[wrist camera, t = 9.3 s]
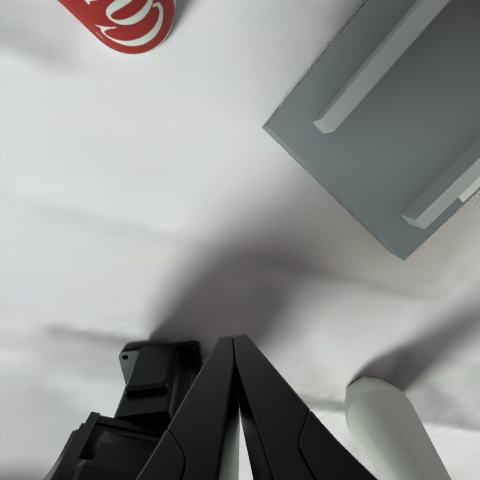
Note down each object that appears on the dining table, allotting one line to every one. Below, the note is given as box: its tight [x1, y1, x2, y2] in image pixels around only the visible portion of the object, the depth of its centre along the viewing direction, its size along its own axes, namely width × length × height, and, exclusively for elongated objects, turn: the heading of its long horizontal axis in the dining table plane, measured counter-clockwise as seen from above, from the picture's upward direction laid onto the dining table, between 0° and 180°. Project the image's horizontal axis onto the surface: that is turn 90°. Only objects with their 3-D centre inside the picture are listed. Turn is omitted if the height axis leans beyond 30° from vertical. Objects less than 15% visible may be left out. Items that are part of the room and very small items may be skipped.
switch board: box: [262, 0, 480, 260], centre depth 16 cm, size 22×14×3 cm, turn 139°
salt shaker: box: [345, 376, 451, 480], centre depth 20 cm, size 6×6×13 cm
